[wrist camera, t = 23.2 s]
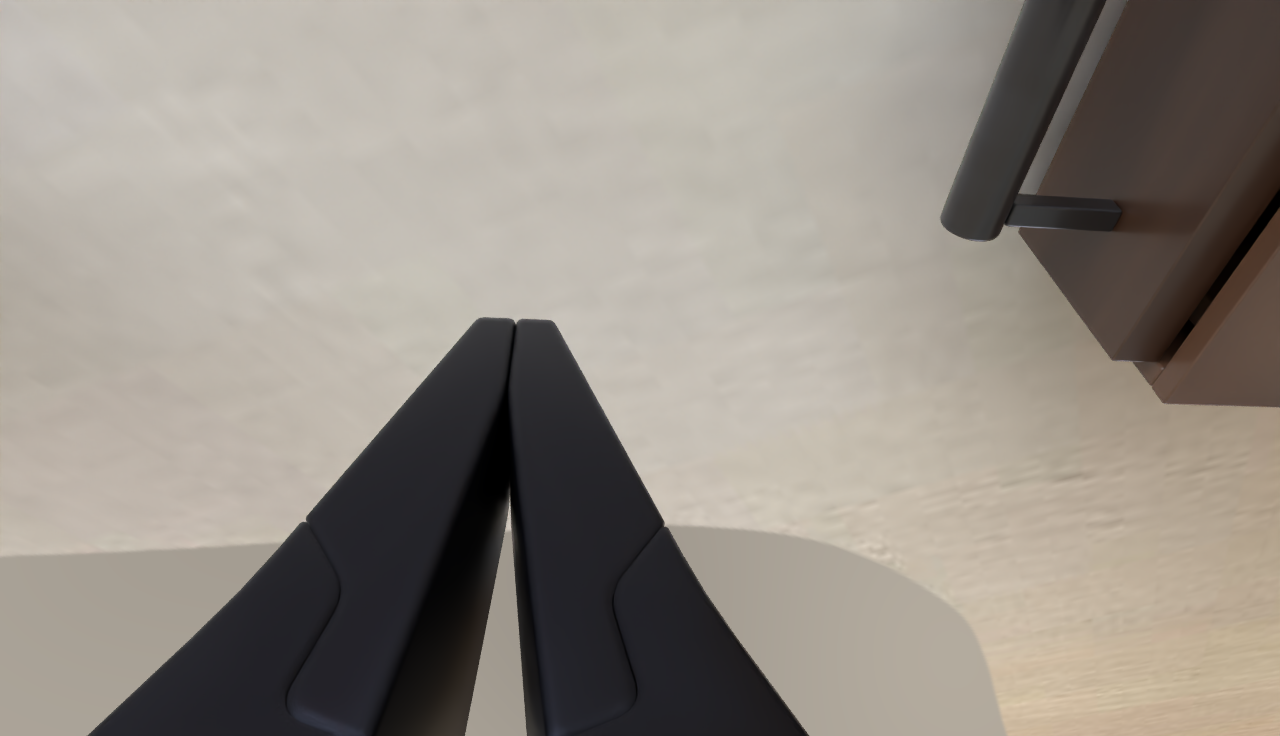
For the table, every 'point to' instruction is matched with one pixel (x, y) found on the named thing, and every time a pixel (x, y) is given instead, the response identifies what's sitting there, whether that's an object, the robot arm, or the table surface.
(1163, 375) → the cabinet
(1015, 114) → the drawer
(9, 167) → the table surface
